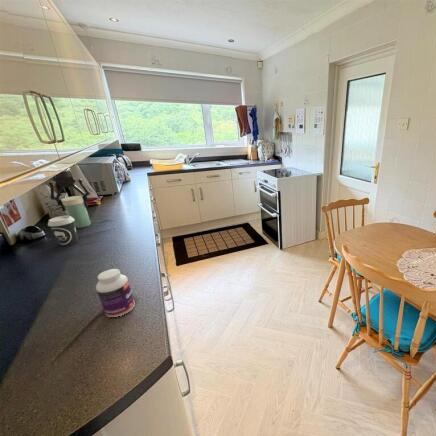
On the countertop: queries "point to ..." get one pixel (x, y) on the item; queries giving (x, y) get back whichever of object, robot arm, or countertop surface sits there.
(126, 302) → the pill bottle
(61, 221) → the coffee cup
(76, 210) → the thermos
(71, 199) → the thermos lid
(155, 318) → the countertop surface
